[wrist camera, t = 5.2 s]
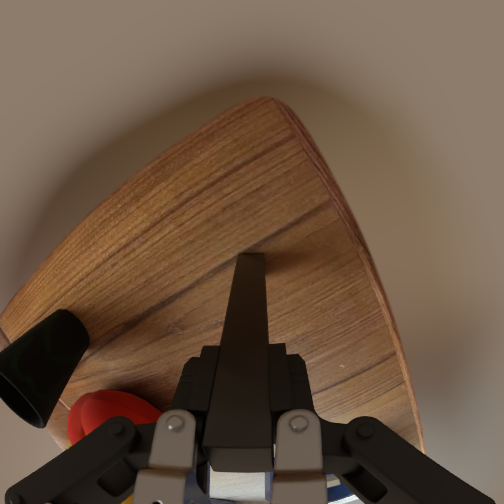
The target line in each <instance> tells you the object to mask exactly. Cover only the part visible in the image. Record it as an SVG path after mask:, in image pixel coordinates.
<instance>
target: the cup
mask: <svg viewBox="0 0 504 504" xmlns="http://www.w3.org/2000/svg"><path fill="white" fill-rule="evenodd" d="M88 345H89V336H88V333H87V331H86V329H85V327H84V325H83V324H82V323H81V321H80V320H79V319H78V318H77V317H76V316H75V315H73V314H72V313H70V312H68V311H66V310H62V309H60V310H57V311H55V312H54V313H52V314H51V315H49V316H48V317H47V318H45V319H44V320H42V321H41V322H40V323H38V324H37V325H35V326H34V327H33V328H31V329H30V330H29V331H27V332H26V333H25V334H23V335H22V336H21V337H19V338H18V339H17V340H15V341H14V342H13V343H11V344H10V345H9V346H8V347H6V348H5V349H4V350H2V351H1V352H0V398H1V399H2V400H3V401H4V402H5V403H6V405H7V406H8V407H9V408H10V409H11V410H12V411H14V412H15V413H16V414H17V415H18V416H19V417H20V418H22V419H23V420H24V421H26V422H27V423H29V424H31V425H32V426H35V427H37V428H45V427H46V424H47V422H48V420H49V418H50V416H51V414H52V412H53V410H54V408H55V406H56V404H57V402H58V400H59V398H60V396H61V394H62V392H63V390H64V388H65V386H66V385H67V383H68V381H69V379H70V377H71V375H72V374H73V372H74V370H75V368H76V366H77V365H78V363H79V361H80V359H81V358H82V356H83V354H84V353H85V351H86V349H87V348H88Z"/></svg>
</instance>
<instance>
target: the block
mask: <svg viewBox="0 0 504 504" xmlns="http://www.w3.org/2000/svg"><path fill="white" fill-rule="evenodd" d="M326 479H327V488H328V487H332V486H336V485H340V480H339V479H338V478H337V477H336V476H335V475H333V476H327V477H326Z"/></svg>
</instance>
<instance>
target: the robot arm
mask: <svg viewBox="0 0 504 504" xmlns="http://www.w3.org/2000/svg"><path fill="white" fill-rule="evenodd" d="M219 351H220V345H218V346H203V348H202V351H201V355H200V357H191V358H190V359H189V360H188V361H187V362H186V364H185V365H184V367H183V370H182V375H181V377H180V380H179V383H178V386H177V389H176V392H175V395H174V399H173V402H172V405H171V408H170V411H167V412H165V413H163V414H162V415H161V416H160V417H159V419H158V420H157V421H156V422H153V423H146V424H137V425H135V424H134V423H133V421H132V420H131V419H129V418H127V417H124V416H115V417H112V418H109V419H108V420H106V421H105V422H104V423H102V424H101V425H100V426H98V427H97V428H96V429H94V430H93V431H92V432H90V433H89V434H87V435H86V436H85V437H83V438H82V439H81V440H79V441H78V442H76V443H75V444H74V445H72V446H71V447H70V448H68V449H67V450H65V451H64V452H62V453H61V454H60V455H58V456H57V457H55V458H54V459H52V460H51V461H49V462H48V463H47V464H45V465H44V466H42V467H41V468H39V469H38V470H36V471H35V472H33V473H32V474H30V475H29V476H27V477H25V478H24V479H23V480H21V481H19V482H18V483H16V484H15V485H13V486H12V487H10V488H9V489H8V490H7V491H6V494H5V504H121V503H122V502H124V501H125V500H126V499H127V498H128V497H130V496H131V495H132V494H133V493H134V494H133V499H132V504H211V502H210V495H209V491H210V463H209V461H208V459H207V457H206V455H205V452H204V450H203V448H202V445H201V444H202V438H203V433H204V427H205V422H206V416H207V413H208V410H209V405H210V399H211V394H212V388H213V383H214V377H215V372H216V366H217V361H218V356H219ZM268 363H269V390H270V412H271V413H272V419H273V444H276V451H275V465H274V475H273V480H272V491H271V501H270V504H328V496H327V479H326V474H325V473H332V474H334V475H335V476H336V477H337V478H338V479H339V480H340V481H341V482H342V483H343V484H344V485H345V486H346V487H347V488H348V489H349V490H350V491H351V492H353V493H354V494H355V495H356V496H357V497H358V498H359V499H360V500H361V501H362V502H364V503H365V504H496V503H495V501H494V500H493V499H491V498H490V497H488V496H486V495H485V494H483V493H481V492H480V491H478V490H477V489H475V488H474V487H472V486H470V485H469V484H467V483H466V482H464V481H463V480H461V479H460V478H458V477H457V476H455V475H454V474H452V473H450V472H449V471H448V470H446V469H445V468H443V467H442V466H440V465H439V464H437V463H436V462H435V461H433V460H432V459H430V458H429V457H427V456H426V455H425V454H423V453H422V452H421V451H419V450H418V449H416V448H415V447H414V446H412V445H411V444H410V443H408V442H407V441H405V440H404V439H403V438H401V437H400V436H399V435H397V434H396V433H395V432H394V431H392V430H391V429H390V428H388V427H387V426H386V425H384V424H383V423H382V422H381V421H379V420H378V419H376V418H373V417H369V416H362V417H357V418H355V419H353V420H351V421H350V422H349V423H348V424H341V423H333V422H329V421H326V420H324V419H322V418H321V417H319V416H318V415H317V413H316V412H315V409H314V405H313V400H312V395H311V390H310V384H309V380H308V374H307V369H306V364H305V361H304V360H303V359H302V358H301V357H300V355H299V354H291V355H287V354H286V346H285V343H277V344H268Z"/></svg>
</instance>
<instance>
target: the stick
mask: <svg viewBox="0 0 504 504" xmlns="http://www.w3.org/2000/svg"><path fill="white" fill-rule="evenodd" d="M268 344H269V334H268V315H267V298H266V280H265V264H264V253H249V254H238V257H237V262H236V266H235V271H234V276H233V281H232V286H231V291H230V296H229V301H228V306H227V311H226V316H225V321H224V326H223V331H222V337H221V342H220V351H219V356H218V361H217V366H216V372H215V377H214V383H213V388H212V394H211V399H210V405H209V410H208V413H207V416H206V422H205V427H204V433H203V438H202V444H201V445H202V448H203V450H204V452H205V455H206V457H207V459H208V461H209V463H210V465H211V467H212V469H213V471H215V472H240V473H256V472H273V471H274V445H273V419H272V413H271V412H270V390H269V363H268Z"/></svg>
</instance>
